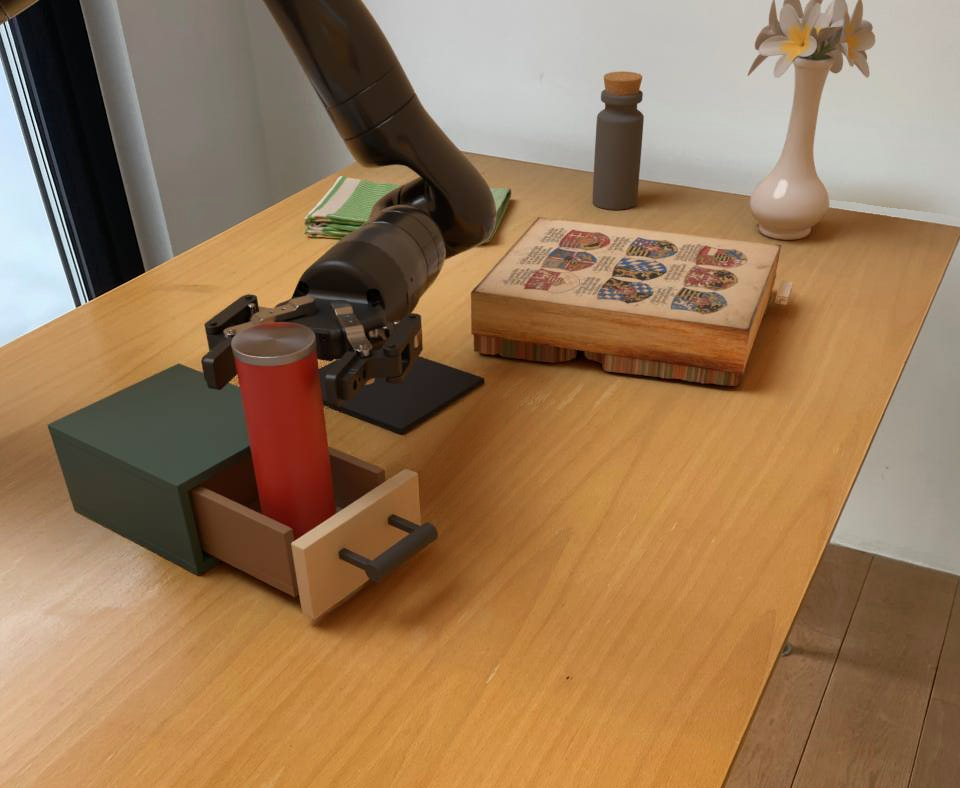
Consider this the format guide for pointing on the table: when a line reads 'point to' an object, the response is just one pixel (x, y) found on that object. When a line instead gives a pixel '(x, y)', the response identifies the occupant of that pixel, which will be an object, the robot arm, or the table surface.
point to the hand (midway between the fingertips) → (270, 384)
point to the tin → (286, 423)
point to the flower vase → (804, 106)
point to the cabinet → (152, 458)
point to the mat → (407, 395)
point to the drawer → (315, 531)
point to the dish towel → (365, 207)
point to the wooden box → (628, 300)
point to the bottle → (618, 142)
